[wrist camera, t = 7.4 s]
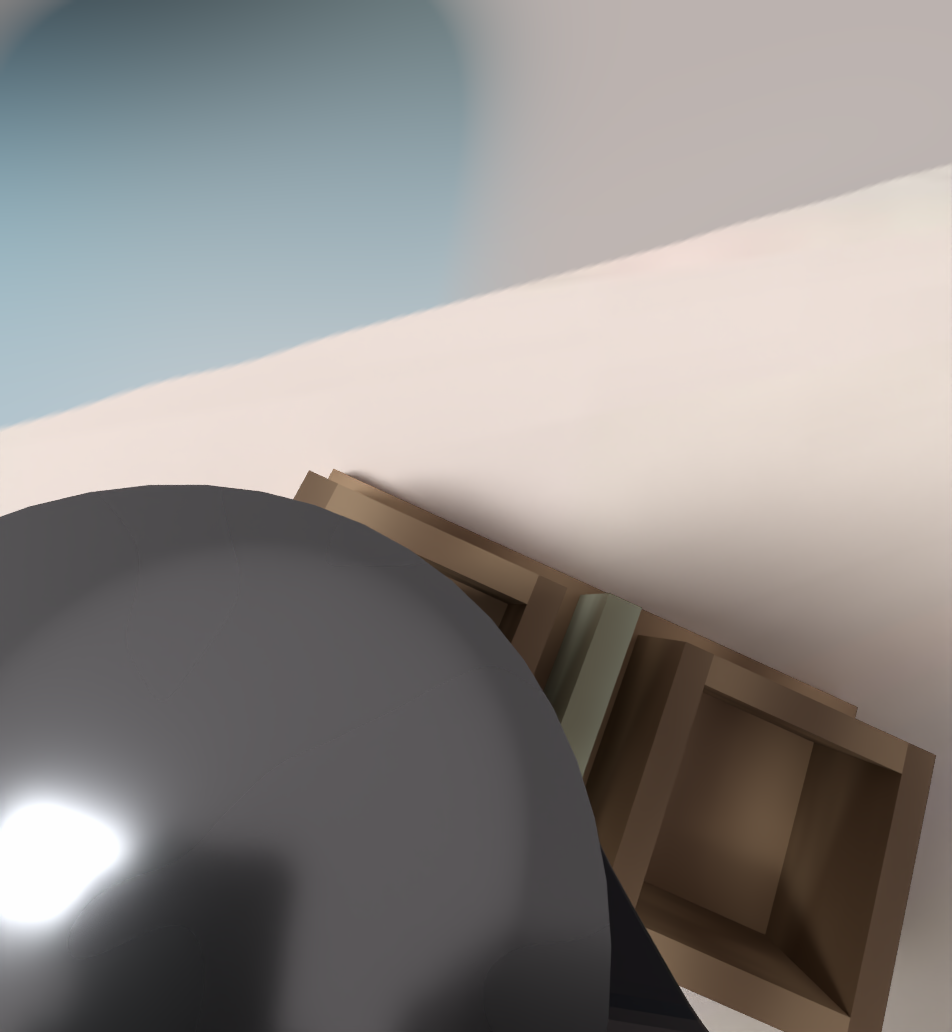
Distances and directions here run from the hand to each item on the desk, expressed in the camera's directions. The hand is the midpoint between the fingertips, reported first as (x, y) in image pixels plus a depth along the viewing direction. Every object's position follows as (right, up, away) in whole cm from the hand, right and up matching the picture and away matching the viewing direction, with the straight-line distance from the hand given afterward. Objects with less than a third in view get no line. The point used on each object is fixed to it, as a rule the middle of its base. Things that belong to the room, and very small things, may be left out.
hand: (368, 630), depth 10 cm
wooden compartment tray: (+5, -6, +9) cm, 12 cm away
